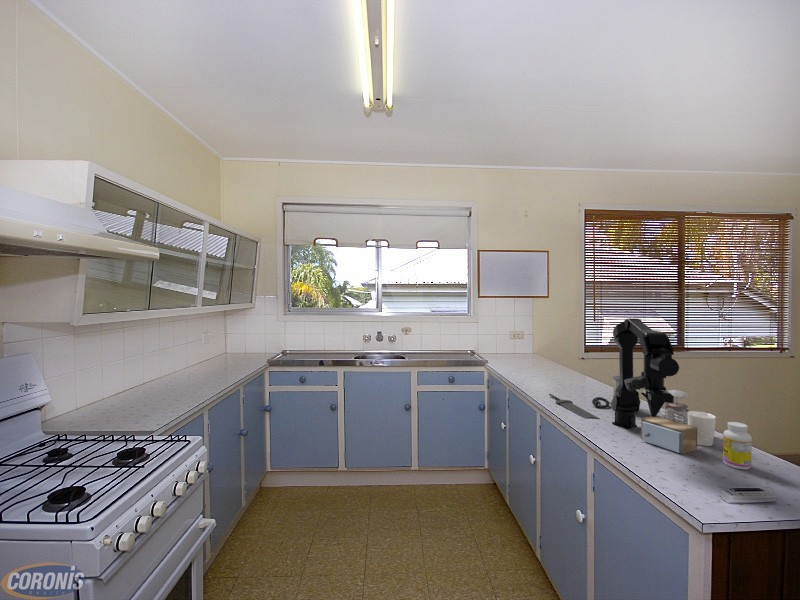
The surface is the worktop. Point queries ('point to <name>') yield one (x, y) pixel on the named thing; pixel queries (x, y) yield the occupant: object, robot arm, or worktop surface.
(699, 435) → the white cup
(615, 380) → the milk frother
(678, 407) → the french press
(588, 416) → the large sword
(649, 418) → the cabinet
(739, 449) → the supplement bottle
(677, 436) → the door
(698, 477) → the worktop surface
